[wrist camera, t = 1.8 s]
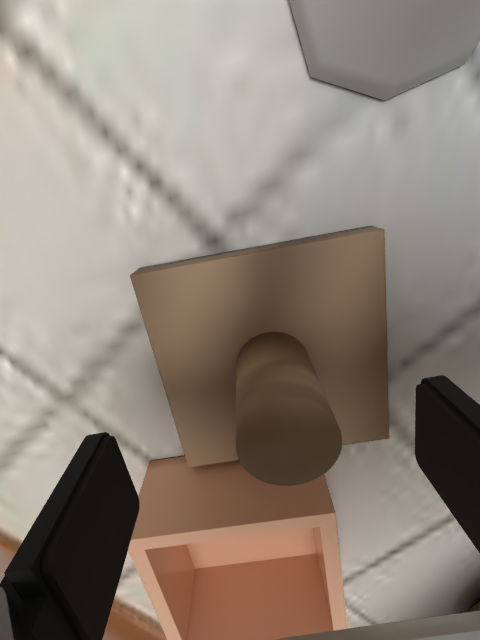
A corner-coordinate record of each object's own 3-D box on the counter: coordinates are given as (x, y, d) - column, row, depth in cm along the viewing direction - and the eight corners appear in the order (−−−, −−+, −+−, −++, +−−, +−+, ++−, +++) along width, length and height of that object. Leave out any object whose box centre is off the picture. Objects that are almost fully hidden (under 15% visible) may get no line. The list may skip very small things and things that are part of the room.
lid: (374, 226, 14) (470, 250, 8) (380, 424, 17) (450, 538, 11) (137, 270, 14) (70, 321, 8) (191, 452, 18) (169, 573, 12)
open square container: (312, 437, 18) (335, 512, 14) (326, 550, 21) (348, 639, 17) (149, 460, 18) (123, 540, 14) (187, 567, 22) (175, 658, 17)
